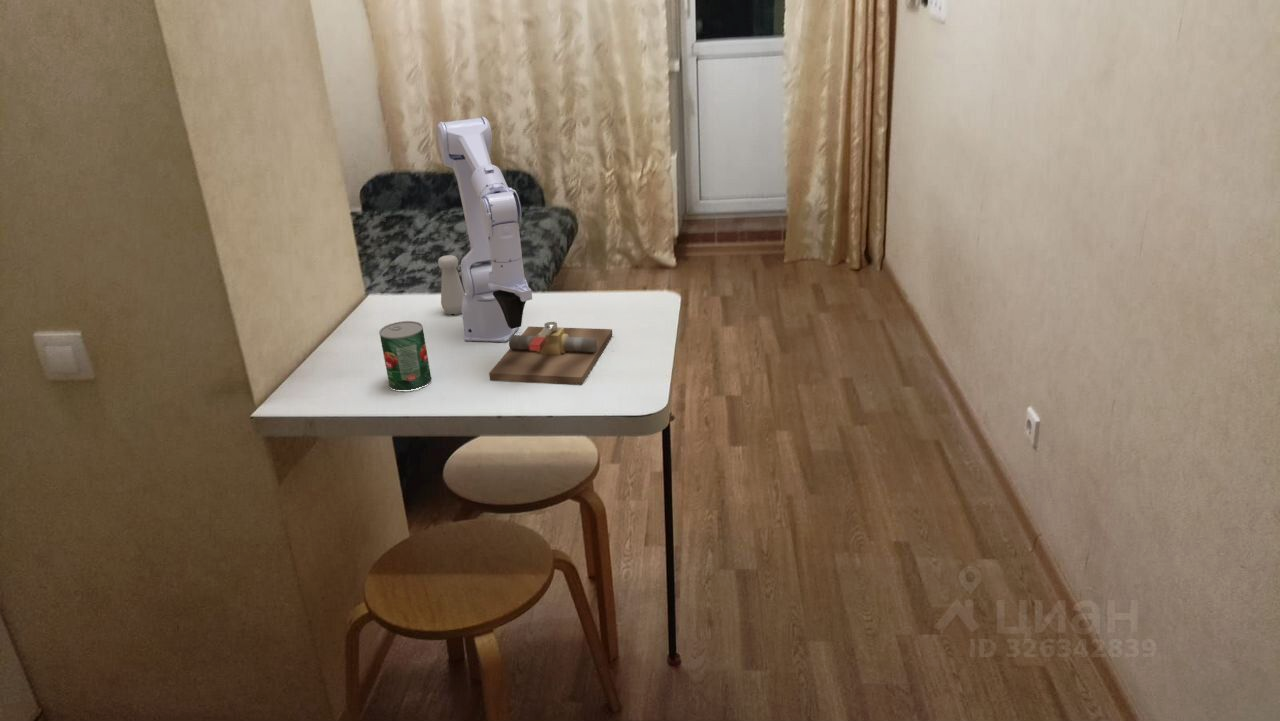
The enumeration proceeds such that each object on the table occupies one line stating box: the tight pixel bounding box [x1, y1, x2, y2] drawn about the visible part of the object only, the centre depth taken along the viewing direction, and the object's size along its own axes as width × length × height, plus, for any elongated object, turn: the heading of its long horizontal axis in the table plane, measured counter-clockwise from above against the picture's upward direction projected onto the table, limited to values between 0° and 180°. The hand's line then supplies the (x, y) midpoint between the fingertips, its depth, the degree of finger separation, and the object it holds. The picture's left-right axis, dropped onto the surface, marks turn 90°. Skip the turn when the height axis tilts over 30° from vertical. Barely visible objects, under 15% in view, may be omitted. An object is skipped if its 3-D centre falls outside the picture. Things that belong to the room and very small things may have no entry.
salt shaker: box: [437, 254, 466, 316], centre depth 205 cm, size 6×6×13 cm
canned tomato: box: [379, 320, 433, 390], centre depth 172 cm, size 8×8×11 cm
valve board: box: [488, 326, 613, 386], centre depth 180 cm, size 18×23×6 cm
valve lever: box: [529, 321, 558, 351], centre depth 175 cm, size 2×11×1 cm, turn 168°
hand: (514, 326), depth 174 cm, fingers closed
